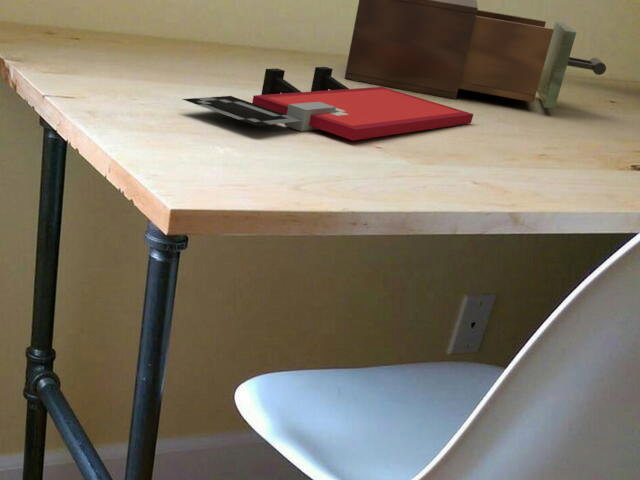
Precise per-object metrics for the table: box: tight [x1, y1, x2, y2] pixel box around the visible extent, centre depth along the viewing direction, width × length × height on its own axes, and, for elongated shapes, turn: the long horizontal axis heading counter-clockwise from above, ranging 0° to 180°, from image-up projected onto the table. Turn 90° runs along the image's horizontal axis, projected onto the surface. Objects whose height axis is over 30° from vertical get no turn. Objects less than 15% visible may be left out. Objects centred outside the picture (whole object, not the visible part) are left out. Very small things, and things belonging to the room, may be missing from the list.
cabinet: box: [344, 0, 479, 100], centre depth 110 cm, size 13×14×10 cm
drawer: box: [458, 9, 607, 110], centre depth 107 cm, size 17×13×9 cm
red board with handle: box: [181, 66, 474, 141], centre depth 84 cm, size 30×3×15 cm
